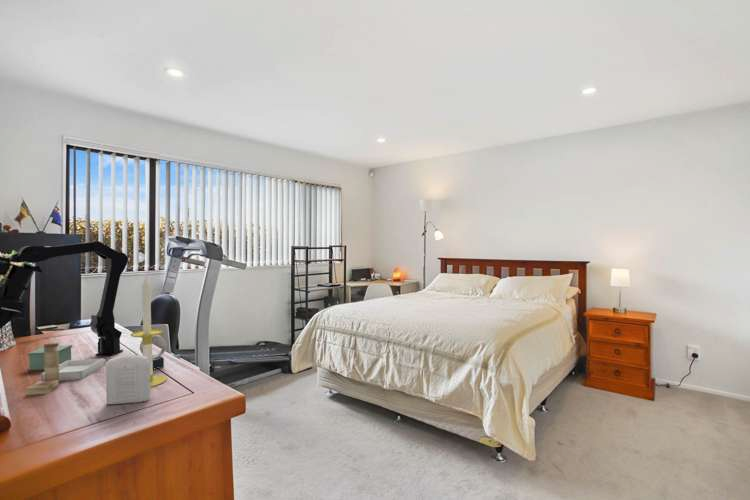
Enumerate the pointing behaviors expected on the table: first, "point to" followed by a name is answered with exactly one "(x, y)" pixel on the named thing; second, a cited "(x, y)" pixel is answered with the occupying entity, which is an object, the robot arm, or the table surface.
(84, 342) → the table surface
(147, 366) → the gravestone
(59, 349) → the green lidded box
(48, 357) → the tan cylinder with block
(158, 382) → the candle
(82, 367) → the tray
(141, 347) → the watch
